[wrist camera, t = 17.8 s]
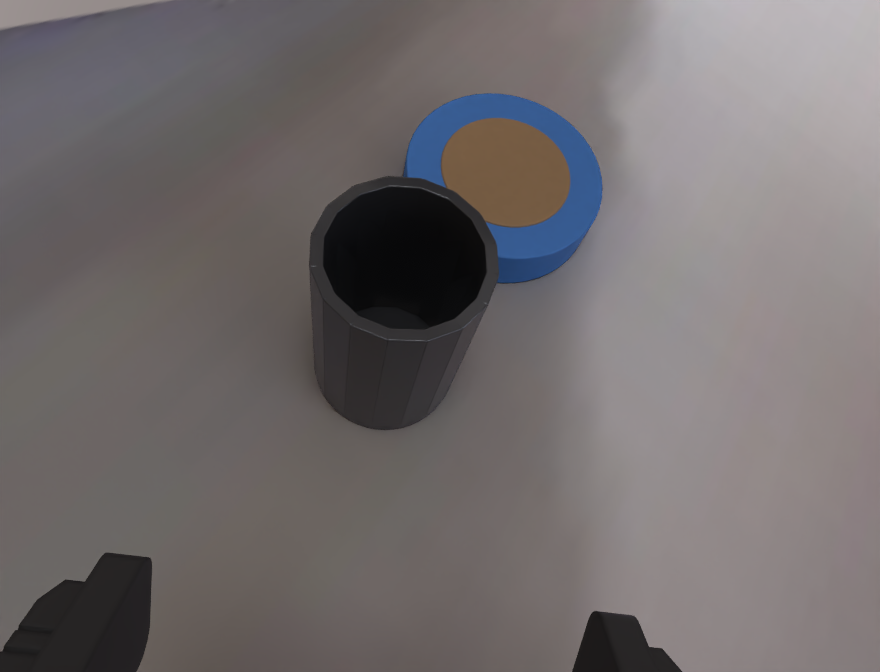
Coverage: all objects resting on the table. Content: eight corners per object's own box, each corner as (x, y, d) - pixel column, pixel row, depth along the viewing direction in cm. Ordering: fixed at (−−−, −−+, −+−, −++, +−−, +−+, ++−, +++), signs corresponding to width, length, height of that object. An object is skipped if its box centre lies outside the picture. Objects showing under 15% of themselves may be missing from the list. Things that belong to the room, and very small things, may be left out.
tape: (534, 107, 40) (546, 73, 38) (619, 250, 37) (639, 222, 34) (372, 150, 37) (374, 116, 35) (449, 309, 34) (458, 284, 31)
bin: (418, 286, 34) (451, 157, 25) (473, 400, 32) (530, 304, 23) (295, 328, 32) (282, 204, 23) (345, 451, 30) (352, 369, 21)
